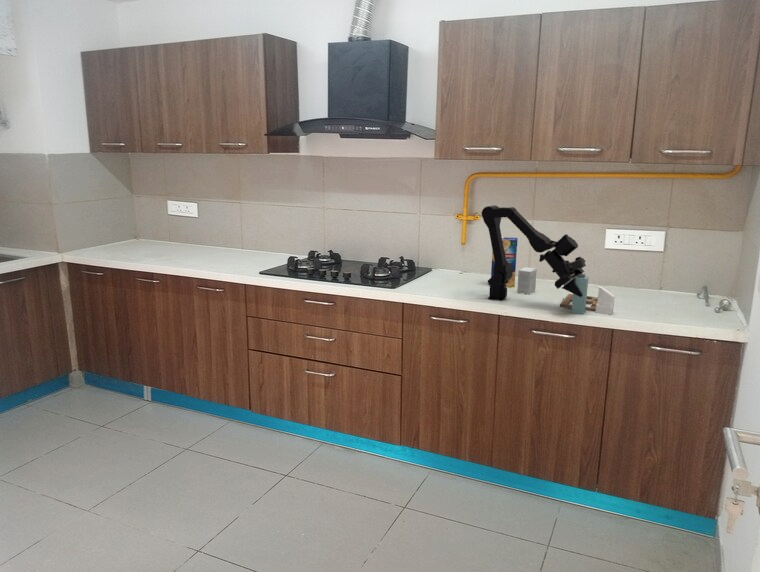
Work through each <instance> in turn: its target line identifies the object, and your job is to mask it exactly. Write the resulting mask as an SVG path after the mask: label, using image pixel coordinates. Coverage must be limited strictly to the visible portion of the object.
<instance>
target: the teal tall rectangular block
mask: <svg viewBox="0 0 760 572" xmlns="http://www.w3.org/2000/svg"><path fill="white" fill-rule="evenodd" d="M575 278H576V280H575V283H576V285H577V287H578V288H579V290H580V291H581V293H582V295H583V296H581V297H579V296H577V295H575V294H573V293H572V294H573V300H572V302H571V303H572V304H571V305H572V309H571V311H570V312H571V314H577V315H579V314H580V315H584V314H585V312H586V311H587V310H586V307H587V304H586V300H587V296H588V287H589V276H587V275H586V274H585V273H582V274H578V275H576V276H575Z"/></svg>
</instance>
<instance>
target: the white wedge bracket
mask: <svg viewBox="0 0 760 572" xmlns="http://www.w3.org/2000/svg"><path fill="white" fill-rule="evenodd" d="M597 293H598V294H597V297H598V302H597V305H596V311H594V312H595V313H596V314H600V315H601V314H602V315H607V314H608V315H609V316H611V315H613V313H614V306H615V297H616V296H615V295H614V294H612V293H611V292H610V291H608V290H607V289H605V288H604V287H602V286H601V285H600V286H598V292H597Z"/></svg>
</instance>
